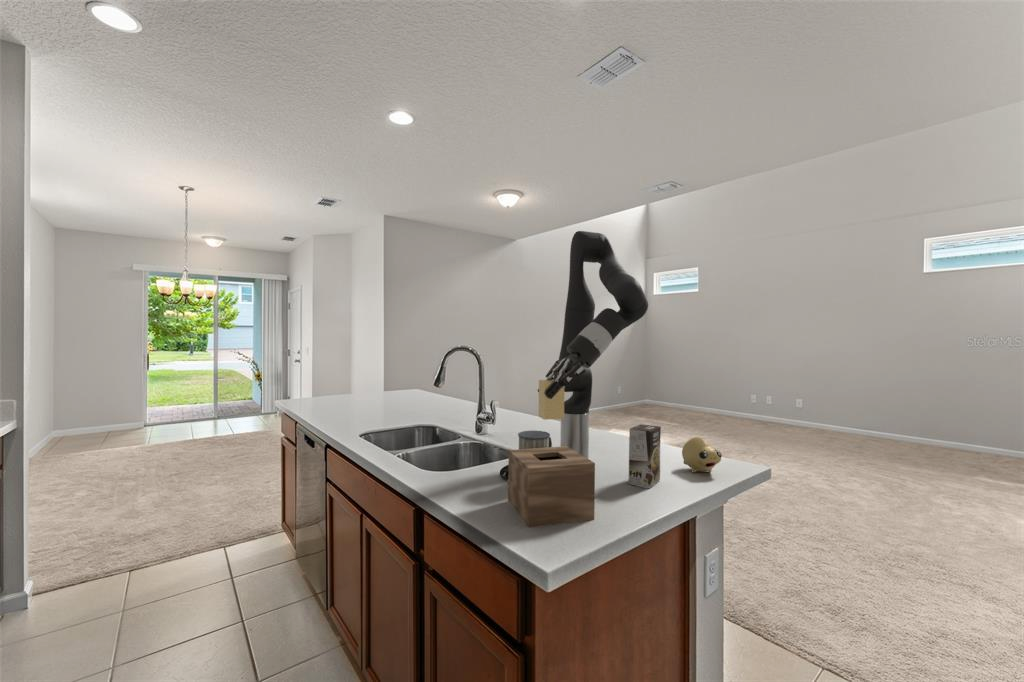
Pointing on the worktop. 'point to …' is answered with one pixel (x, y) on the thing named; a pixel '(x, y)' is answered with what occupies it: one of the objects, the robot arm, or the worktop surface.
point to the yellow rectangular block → (550, 402)
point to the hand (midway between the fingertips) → (543, 394)
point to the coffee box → (644, 455)
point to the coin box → (551, 485)
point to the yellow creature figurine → (700, 455)
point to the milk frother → (530, 444)
